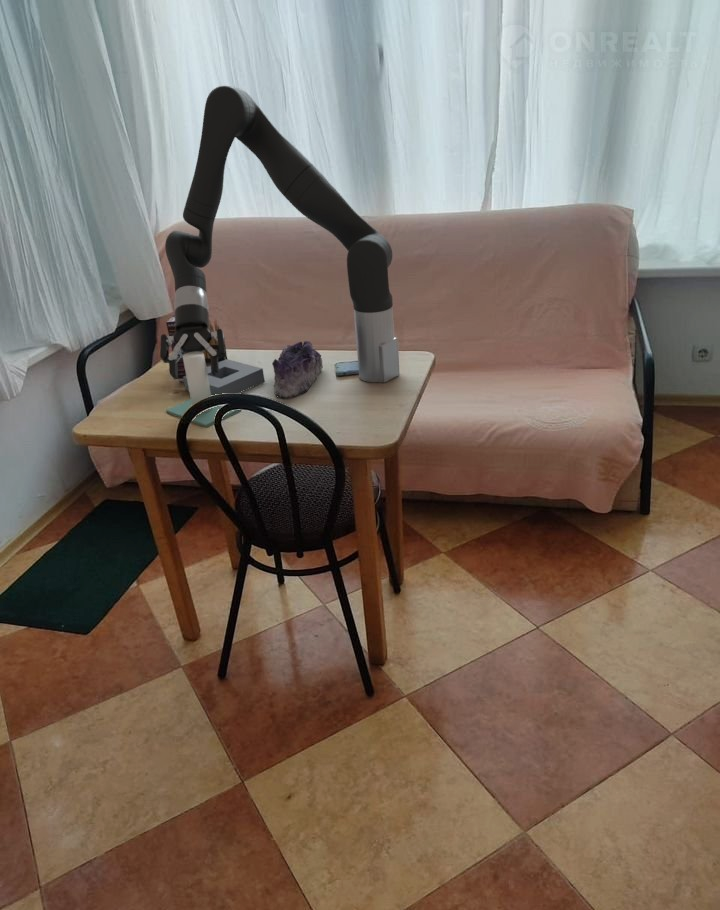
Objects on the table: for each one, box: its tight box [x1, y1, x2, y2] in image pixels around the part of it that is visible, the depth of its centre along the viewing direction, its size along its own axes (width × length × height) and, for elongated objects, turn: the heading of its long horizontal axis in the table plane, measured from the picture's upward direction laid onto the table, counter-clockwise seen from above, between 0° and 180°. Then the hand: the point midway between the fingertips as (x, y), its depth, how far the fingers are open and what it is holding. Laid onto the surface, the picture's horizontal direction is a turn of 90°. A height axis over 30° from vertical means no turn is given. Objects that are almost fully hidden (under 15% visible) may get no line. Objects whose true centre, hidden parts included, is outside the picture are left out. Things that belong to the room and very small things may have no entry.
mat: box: [165, 398, 242, 428], centre depth 145 cm, size 15×10×1 cm, turn 50°
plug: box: [183, 351, 213, 413], centre depth 142 cm, size 5×5×13 cm
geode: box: [272, 340, 324, 400], centre depth 154 cm, size 20×12×10 cm, turn 172°
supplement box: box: [166, 314, 186, 383], centre depth 163 cm, size 9×5×16 cm, turn 179°
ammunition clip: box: [201, 318, 228, 364], centre depth 173 cm, size 11×2×12 cm, turn 76°
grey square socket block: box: [183, 358, 266, 395], centre depth 158 cm, size 14×14×4 cm
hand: (194, 376), depth 140 cm, fingers open, 8 cm apart
